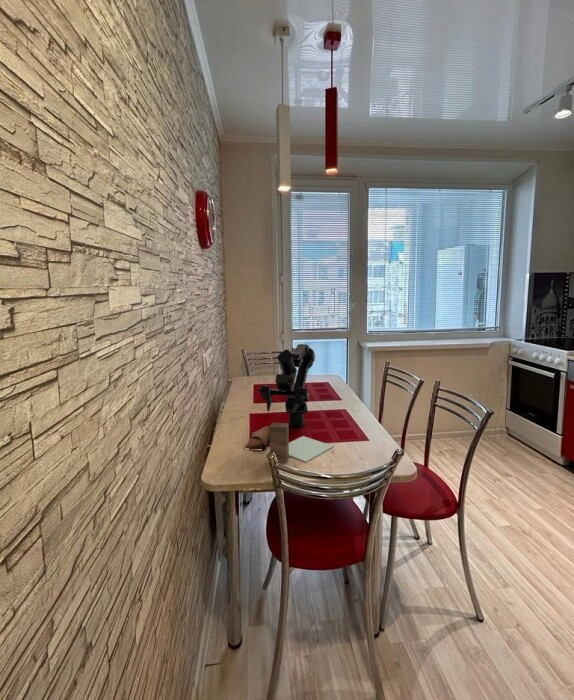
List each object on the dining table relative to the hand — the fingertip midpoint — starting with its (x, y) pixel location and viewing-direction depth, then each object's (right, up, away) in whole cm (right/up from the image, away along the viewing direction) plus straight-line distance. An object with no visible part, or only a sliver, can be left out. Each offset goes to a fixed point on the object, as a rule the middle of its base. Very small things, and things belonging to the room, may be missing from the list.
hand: (279, 412), depth 137 cm
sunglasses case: (-9, -14, +11) cm, 20 cm away
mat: (+9, -14, +3) cm, 17 cm away
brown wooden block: (0, -16, -6) cm, 17 cm away
